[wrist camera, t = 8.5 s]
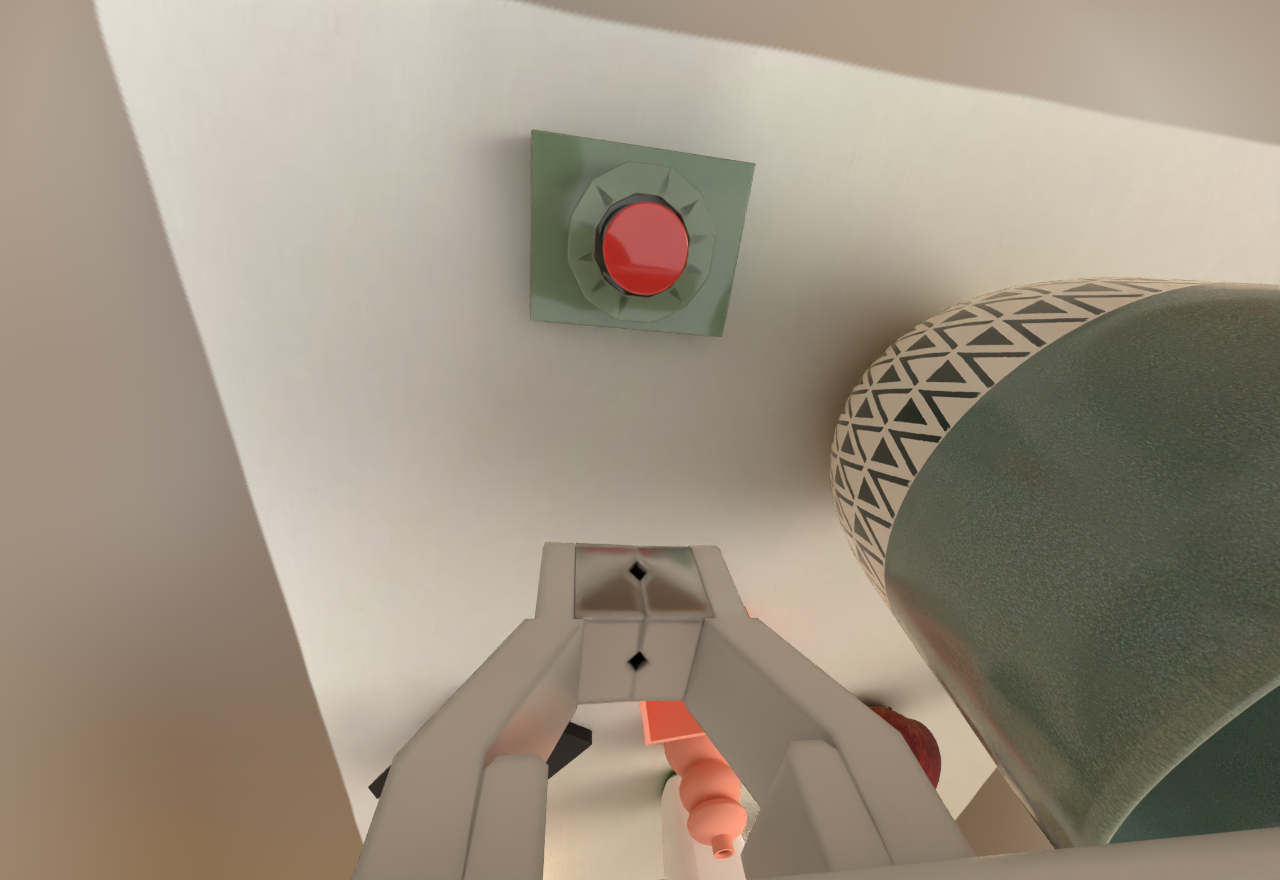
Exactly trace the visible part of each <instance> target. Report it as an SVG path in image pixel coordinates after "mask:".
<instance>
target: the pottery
mask: <svg viewBox="0 0 1280 880" xmlns="http://www.w3.org/2000/svg"><path fill="white" fill-rule="evenodd" d="M744 608H745V610H746V607H744ZM746 613H747V615H748V617H749V614H748V612H747V610H746ZM749 618H750V617H749ZM639 702H640V709H641V715H642V722H643V729H644V736H645V742H646V745H651V744H657V743H663V742H664V749H665V754H666V757H667V760H668V762H669V764H670V766H671V767H672V768H673V770H674V771H675V772H676V773H677V774H678V775H679V776H681V777H682V780H681V783H680V787H679V792H680V800H681V802H682V804H683V806H684V808H685V809H686V810H687V811H688V812H689V813H690V814H689V818H688V821H687V828H688V831H689V833H690V835H691V837H692V838H693V839H694V840H696V841H697V842H699V843H701V844H703V845H707V846H712V849H713V855H714V858H715V859H718V860H724V859H728V858H730V857H732V856H733V855H734V854H735V851H734V847H733V843H732V841H733V840H735V839H736V838H737V837H738V836H739V835H741V833H742V832H743V830H744V828H745V826H746V824H747V817H746V811H745V809H744V808H743V807H742V806H741V805H740V804H739V802H738V801H739V798H740V795H741V786H740V782H739V779H738V777H737V775H736V774H735V773H734V771H733V770H732V768H731V767H730V766H729V764H728V763H727V762H726V760H725V759H724V758H723V756H722V755H721V754H720V752H719V751H718V750H717V748H716V747H715V746H714V744H713V743H712V742H711V740H710V739H709V738H708V736H707V735H706V734H705V732H704V731H703V730H702V728H701V727H700V726H699V724H698V723H697V722H696V720H695V719H694V717H693V716H692V715H691V713H690V712H689V711H688V709H687V708H686V707H685V705H684V704H683V703H684V701H639Z"/></svg>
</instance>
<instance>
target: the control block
mask: <svg viewBox="0 0 1280 880" xmlns="http://www.w3.org/2000/svg"><path fill="white" fill-rule="evenodd" d="M754 170H755V163H749V162H742V161H736V160H729V159H722V158H716V157H709V156H703V155H696V154H690V153H683V152H677V151H670V150H664V149H657V148H651V147H644V146H638V145H631V144H625V143H618V142H611V141H605V140H598V139H592V138H585V137H579V136H572V135H566V134H559V133H553V132H546V131H540V130H532V131H531V248H530V320H533V321H544V322H555V323H567V324H578V325H589V326H600V327H611V328H623V329H634V330H645V331H656V332H667V333H679V334H690V335H701V336H712V337H722V334H723V329H724V324H725V319H726V314H727V308H728V303H729V298H730V293H731V288H732V283H733V278H734V272H735V267H736V262H737V257H738V252H739V247H740V242H741V236H742V231H743V226H744V221H745V216H746V211H747V206H748V200H749V195H750V190H751V185H752V180H753V175H754ZM637 202H654V203H658V204H661V205H663V206H665V207H667V208H669V209H670V210H671V211H673V212H674V213H675V214H676V215H677V217H678V218H679V219H680V221H681V222H682V224H683V226H684V228H685V231H686V234H687V237H688V248H689V250H688V258H687V262H686V265H685V268H684V270H683V272H682V273H681V275H680V277H679V278H678V279H677V280H676V282H675V283H673V284H672V285H671V286H670V287H669V288H667V289H665V290H664V291H662V292H659V293H656V294H652V295H638V294H634V293H631V292H629V291H627V290H625V289H623V288H622V287H620V286H619V285H618V284H617V283H616V282H615V281H614V280H613V278H612V277H611V276H610V274H609V272H608V270H607V268H606V266H605V263H604V261H603V257H602V250H601V242H602V236H603V232H604V229H605V227H606V225H607V223H608V221H609V220H610V219H611V217H612V216H613V215H614V214H615V213H616V212H617V211H618V210H620V209H621V208H623V207H625V206H627V205H629V204H633V203H637Z"/></svg>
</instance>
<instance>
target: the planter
mask: <svg viewBox="0 0 1280 880" xmlns="http://www.w3.org/2000/svg"><path fill="white" fill-rule="evenodd" d="M830 481H831V488H832V494H833V499H834V503H835V507H836V510H837V514H838V517H839V520H840V523H841V526H842V528H843V531H844V533H845V535H846V538H847V540H848V542H849V545H850V547H851V549H852V551H853V553H854V555H855V557H856V559H857V560H858V562H859V564H860V565H861V567H862V569H863V570H864V572H865V574H866V575H867V577H868V578H869V580H870V581H871V583H872V584H873V586H874V587H875V589H876V590H877V592H878V593H879V594H880V596H881V597H882V599H883V600H884V602H885V603H886V605H887V606H888V608H889V609H890V611H891V612H892V614H893V615H894V617H895V618H896V620H897V621H898V623H899V624H900V626H901V627H902V628H903V630H904V631H905V633H906V634H907V636H908V637H909V639H910V640H911V642H912V643H913V645H914V646H915V648H916V649H917V651H918V652H919V654H920V655H921V657H922V658H923V659H924V661H925V662H926V664H927V665H928V667H929V668H930V669H931V671H932V672H933V674H934V675H935V677H936V678H937V679H938V681H939V682H940V684H941V685H942V687H943V688H944V689H945V691H946V692H947V694H948V695H949V696H950V698H951V699H952V701H953V702H954V704H955V705H956V706H957V708H958V709H959V711H960V712H961V714H962V715H963V717H964V718H965V720H966V721H967V722H968V724H969V725H970V727H971V728H972V730H973V731H974V733H975V734H976V736H977V737H978V739H979V740H980V742H981V743H982V745H983V746H984V747H985V749H986V750H987V752H988V753H989V755H990V756H991V758H992V759H993V761H994V762H995V764H996V765H997V767H998V768H999V770H1000V771H1001V773H1002V774H1003V776H1004V777H1005V779H1006V780H1007V782H1008V783H1009V785H1010V786H1011V788H1012V789H1013V791H1014V792H1015V794H1016V795H1017V796H1018V798H1019V799H1020V801H1021V802H1022V803H1023V805H1024V806H1025V808H1026V809H1027V811H1028V812H1029V814H1030V815H1031V816H1032V818H1033V819H1034V821H1035V822H1036V823H1037V825H1038V826H1039V827H1040V829H1041V830H1042V832H1043V833H1044V834H1045V836H1046V837H1047V839H1048V840H1049V842H1050V843H1051V845H1052V846H1053V847H1054V849H1063V848H1073V847H1083V846H1093V845H1103V844H1114V843H1124V842H1134V841H1144V840H1154V839H1164V838H1174V837H1184V836H1194V835H1204V834H1214V833H1224V832H1234V831H1244V830H1254V829H1264V828H1275V827H1280V285H1270V284H1250V283H1231V282H1212V281H1193V280H1176V279H1159V278H1142V277H1095V278H1080V279H1069V280H1059V281H1050V282H1041V283H1036V284H1030V285H1024V286H1019V287H1014V288H1008V289H1004V290H1000V291H996V292H993V293H989V294H986V295H982V296H979V297H975V298H973V299H970V300H967V301H964V302H962V303H959V304H957V305H955V306H952V307H950V308H948V309H946V310H944V311H942V312H940V313H938V314H936V315H934V316H932V317H930V318H929V319H927V320H925V321H924V322H922V323H920V324H919V325H917V326H916V327H914V328H913V329H911V330H910V331H908V332H907V333H906V334H905V335H903V336H902V337H901V338H899V339H898V340H897V341H896V342H895V343H893V344H892V345H891V346H890V347H889V348H888V349H886V350H885V351H884V352H883V353H882V354H881V355H880V356H879V357H878V358H877V359H876V360H875V361H874V363H873V364H872V365H871V366H870V367H869V368H868V369H867V371H866V372H865V373H864V374H863V376H862V377H861V379H860V380H859V381H858V383H857V384H856V386H855V387H854V389H853V391H852V392H851V394H850V396H849V398H848V400H847V401H846V403H845V406H844V408H843V410H842V412H841V415H840V417H839V420H838V423H837V426H836V429H835V432H834V436H833V441H832V447H831V456H830Z"/></svg>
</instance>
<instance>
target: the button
mask: <svg viewBox="0 0 1280 880" xmlns="http://www.w3.org/2000/svg"><path fill="white" fill-rule="evenodd" d="M601 250H602V257H603V261H604V263H605V266H606V268H607V270H608V272H609V274H610V276H611V277H612V278H613V280H614V281H615V282H616V283H617V284H618V285H619V286H620V287H622V288H623V289H625V290H627V291H629V292H631V293H634V294H638V295H652V294H656V293H659V292H662V291H664V290H665V289H667V288H669V287H670V286H671V285H672V284H673V283H675V282H676V280H677V279H678V278H679V277H680V275H681V273H682V272H683V270H684V268H685V265H686V262H687V258H688V250H689V248H688V237H687V234H686V231H685V228H684V226H683V224H682V222H681V221H680V219H679V218H678V217H677V215H676V214H675V213H674V212H673V211H671V210H670V209H669V208H667V207H665V206H663V205H661V204H658V203H654V202H637V203H633V204H629V205H627V206H625V207H623V208H621V209H620V210H618V211H617V212H616V213H615V214H614V215H613V216H612V217H611V219H610V220H609V221H608V223H607V225H606V227H605V229H604V232H603V236H602V242H601Z"/></svg>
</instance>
